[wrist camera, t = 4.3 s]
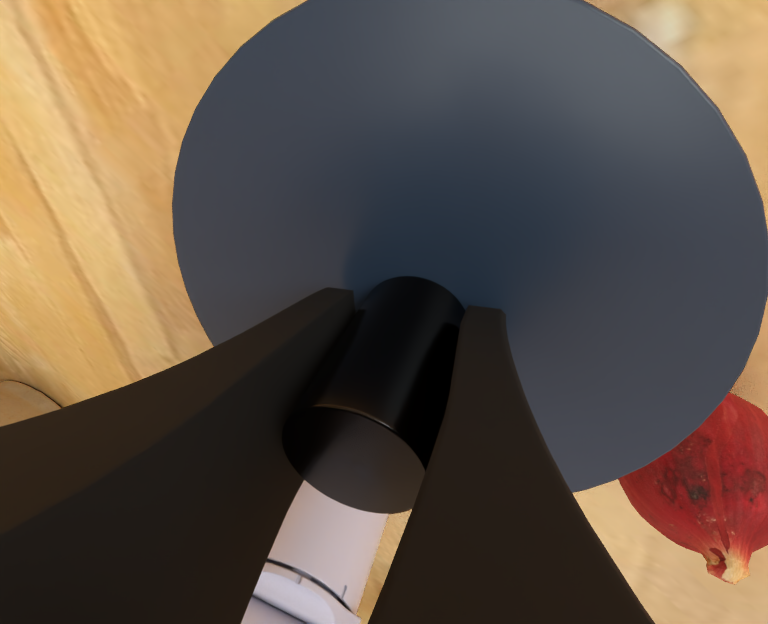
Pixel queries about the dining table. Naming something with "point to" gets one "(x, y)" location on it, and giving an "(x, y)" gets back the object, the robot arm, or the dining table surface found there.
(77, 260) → the dining table surface
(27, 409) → the planter bowl
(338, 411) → the lid
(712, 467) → the onion
